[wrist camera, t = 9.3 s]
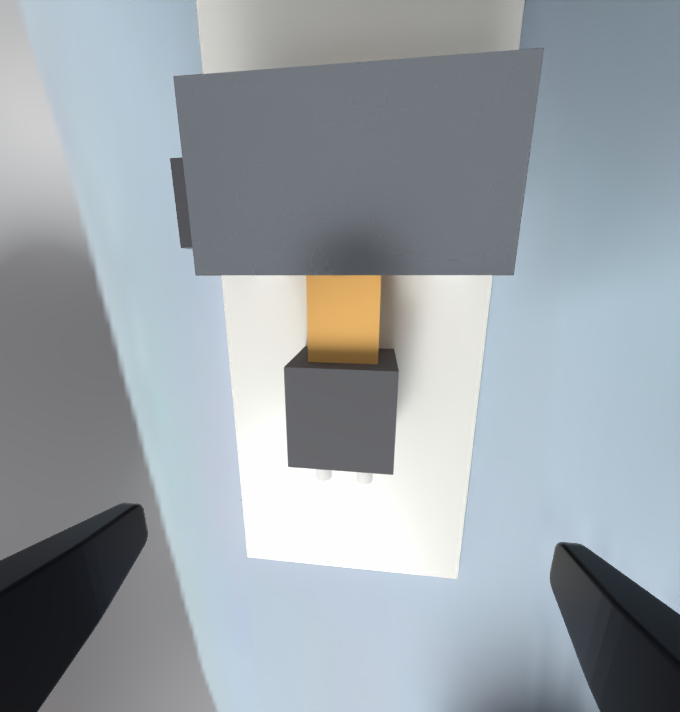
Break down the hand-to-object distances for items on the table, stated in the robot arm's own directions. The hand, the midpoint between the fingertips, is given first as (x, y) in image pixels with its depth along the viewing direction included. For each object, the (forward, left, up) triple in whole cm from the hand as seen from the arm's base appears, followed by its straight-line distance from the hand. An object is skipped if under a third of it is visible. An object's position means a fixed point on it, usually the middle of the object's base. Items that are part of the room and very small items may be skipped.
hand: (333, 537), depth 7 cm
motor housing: (0, -8, -8) cm, 11 cm away
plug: (0, -4, -8) cm, 9 cm away
